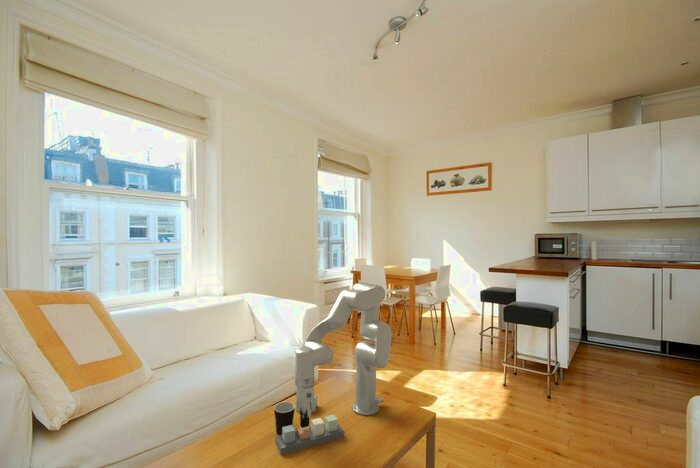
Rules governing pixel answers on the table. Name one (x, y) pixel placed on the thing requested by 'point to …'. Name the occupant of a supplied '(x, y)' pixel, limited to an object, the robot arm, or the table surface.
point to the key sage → (331, 423)
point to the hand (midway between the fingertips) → (304, 425)
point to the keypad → (308, 440)
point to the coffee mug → (283, 415)
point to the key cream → (317, 426)
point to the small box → (310, 408)
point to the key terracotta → (303, 433)
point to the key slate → (288, 434)
